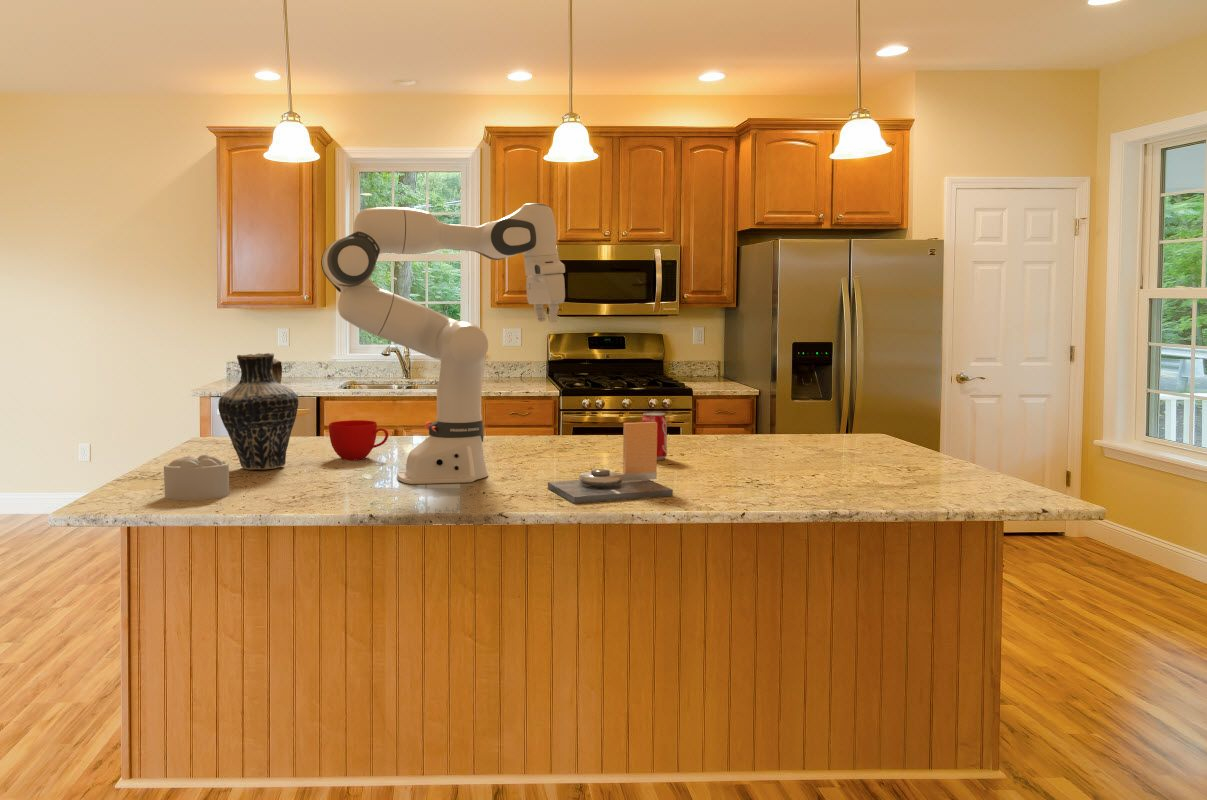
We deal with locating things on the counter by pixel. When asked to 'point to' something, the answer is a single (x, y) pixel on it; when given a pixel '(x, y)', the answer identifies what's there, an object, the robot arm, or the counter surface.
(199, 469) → the lumpy-topped squat cylinder
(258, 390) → the jug
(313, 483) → the counter surface
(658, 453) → the soda can
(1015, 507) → the counter surface
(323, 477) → the counter surface
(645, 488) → the base plate
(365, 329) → the robot arm
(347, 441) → the ceramic cup
